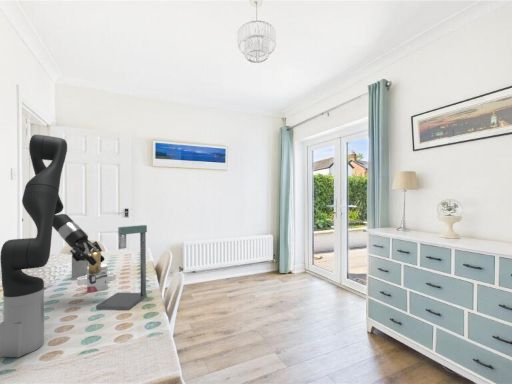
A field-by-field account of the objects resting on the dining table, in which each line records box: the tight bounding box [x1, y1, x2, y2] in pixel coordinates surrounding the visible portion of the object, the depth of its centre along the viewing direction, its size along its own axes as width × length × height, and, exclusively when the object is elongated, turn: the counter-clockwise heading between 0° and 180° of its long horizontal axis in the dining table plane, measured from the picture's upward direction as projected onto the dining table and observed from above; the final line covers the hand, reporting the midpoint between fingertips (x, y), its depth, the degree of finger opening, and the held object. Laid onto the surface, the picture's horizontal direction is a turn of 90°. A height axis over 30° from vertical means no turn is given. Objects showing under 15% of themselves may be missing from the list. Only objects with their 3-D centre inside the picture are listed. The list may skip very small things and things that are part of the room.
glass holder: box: [70, 253, 89, 281], centre depth 148 cm, size 9×14×15 cm, turn 132°
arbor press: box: [95, 224, 148, 311], centre depth 112 cm, size 15×15×32 cm
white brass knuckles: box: [76, 271, 117, 286], centre depth 142 cm, size 3×18×15 cm
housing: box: [88, 248, 102, 274], centre depth 113 cm, size 4×4×10 cm
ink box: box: [86, 263, 109, 294], centre depth 127 cm, size 8×5×12 cm, turn 123°
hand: (98, 262), depth 113 cm, fingers closed on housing, 4 cm apart
